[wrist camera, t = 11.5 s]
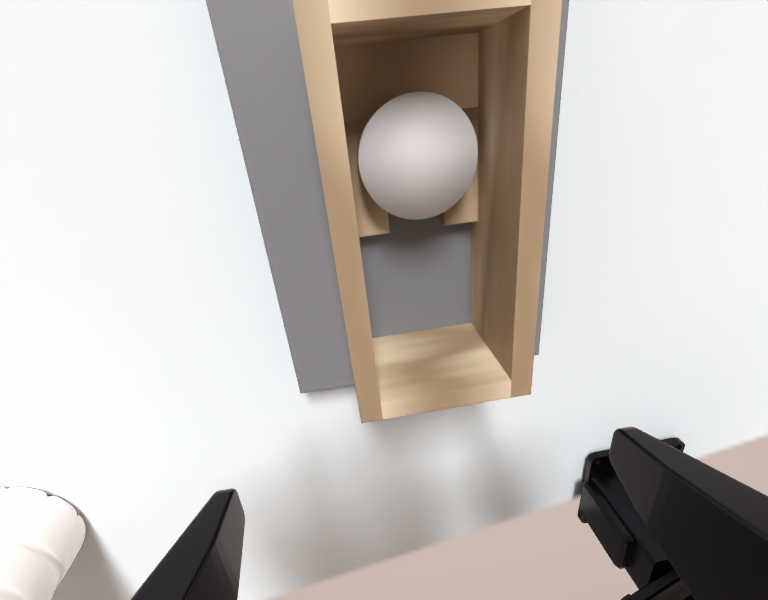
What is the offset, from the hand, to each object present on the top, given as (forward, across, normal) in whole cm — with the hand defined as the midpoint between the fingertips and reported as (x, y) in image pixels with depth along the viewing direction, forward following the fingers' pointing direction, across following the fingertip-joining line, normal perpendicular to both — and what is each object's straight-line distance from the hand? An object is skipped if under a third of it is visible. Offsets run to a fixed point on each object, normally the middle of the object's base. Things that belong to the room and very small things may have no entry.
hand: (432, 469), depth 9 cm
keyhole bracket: (+9, -2, -4) cm, 10 cm away
